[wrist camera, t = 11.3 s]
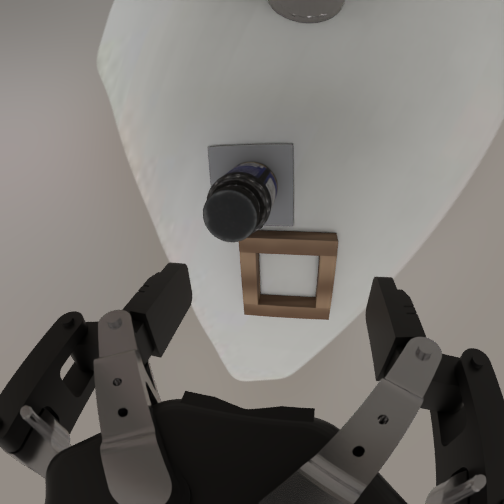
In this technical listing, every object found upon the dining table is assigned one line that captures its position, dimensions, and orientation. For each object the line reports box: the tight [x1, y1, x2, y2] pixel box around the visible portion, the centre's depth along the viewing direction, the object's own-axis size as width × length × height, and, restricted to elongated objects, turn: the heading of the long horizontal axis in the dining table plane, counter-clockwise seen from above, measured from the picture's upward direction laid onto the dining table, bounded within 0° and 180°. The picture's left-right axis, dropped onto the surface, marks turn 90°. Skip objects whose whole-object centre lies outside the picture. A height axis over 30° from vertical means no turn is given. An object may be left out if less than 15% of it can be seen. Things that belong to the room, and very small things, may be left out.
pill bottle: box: [203, 162, 278, 242], centre depth 27 cm, size 6×6×11 cm
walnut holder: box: [239, 230, 338, 320], centre depth 36 cm, size 12×12×2 cm
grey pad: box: [208, 144, 293, 226], centre depth 33 cm, size 10×10×1 cm
